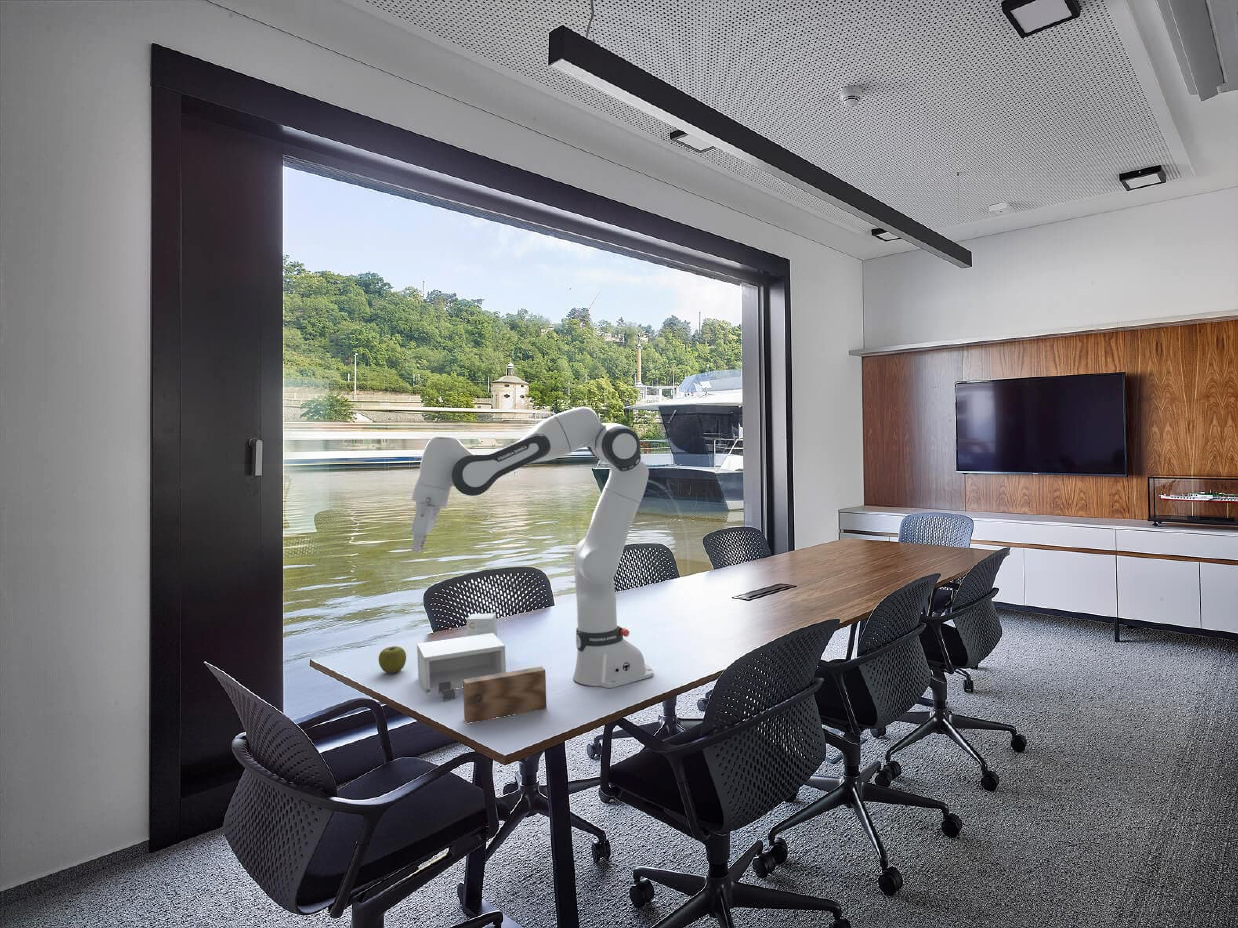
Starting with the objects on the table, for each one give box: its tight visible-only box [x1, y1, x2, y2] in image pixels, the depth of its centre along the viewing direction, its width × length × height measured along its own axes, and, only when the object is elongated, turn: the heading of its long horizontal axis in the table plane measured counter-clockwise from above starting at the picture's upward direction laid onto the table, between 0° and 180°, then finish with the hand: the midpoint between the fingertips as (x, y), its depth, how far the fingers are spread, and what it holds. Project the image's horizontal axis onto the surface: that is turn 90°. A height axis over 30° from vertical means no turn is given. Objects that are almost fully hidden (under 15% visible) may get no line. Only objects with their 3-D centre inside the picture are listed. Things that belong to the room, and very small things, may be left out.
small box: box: [466, 613, 498, 638], centre depth 219 cm, size 8×6×13 cm
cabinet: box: [416, 633, 507, 701], centre depth 197 cm, size 22×21×10 cm
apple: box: [378, 645, 407, 674], centre depth 208 cm, size 8×8×7 cm
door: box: [462, 666, 548, 724], centre depth 174 cm, size 20×4×10 cm, turn 114°
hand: (417, 550), depth 181 cm, fingers open, 8 cm apart
